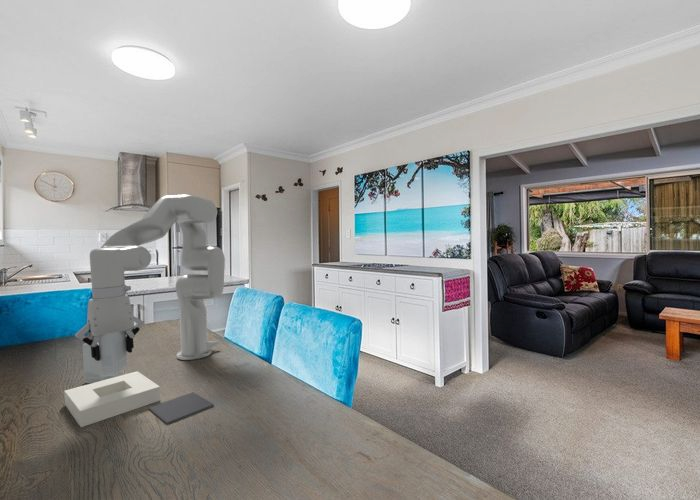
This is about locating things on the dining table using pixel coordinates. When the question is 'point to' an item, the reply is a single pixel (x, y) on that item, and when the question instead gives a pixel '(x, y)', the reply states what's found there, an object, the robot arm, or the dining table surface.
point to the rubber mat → (180, 407)
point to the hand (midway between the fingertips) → (113, 355)
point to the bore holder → (110, 397)
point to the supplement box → (92, 367)
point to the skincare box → (112, 353)
